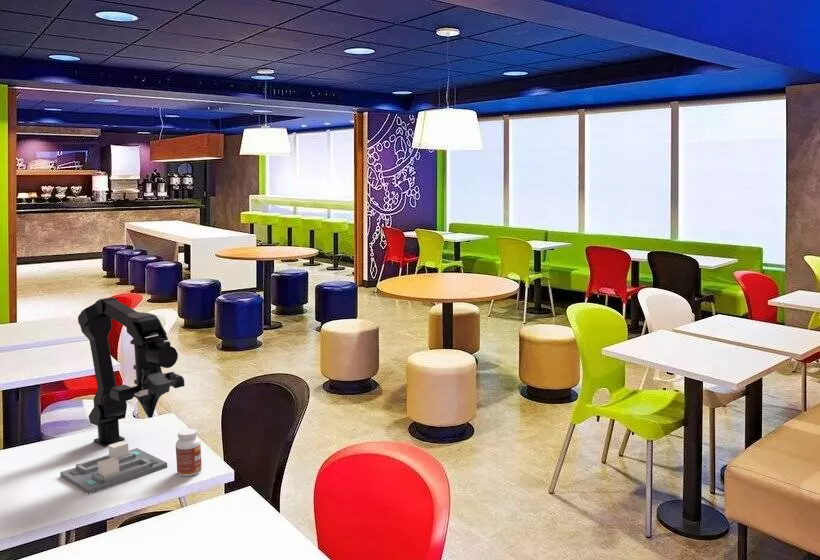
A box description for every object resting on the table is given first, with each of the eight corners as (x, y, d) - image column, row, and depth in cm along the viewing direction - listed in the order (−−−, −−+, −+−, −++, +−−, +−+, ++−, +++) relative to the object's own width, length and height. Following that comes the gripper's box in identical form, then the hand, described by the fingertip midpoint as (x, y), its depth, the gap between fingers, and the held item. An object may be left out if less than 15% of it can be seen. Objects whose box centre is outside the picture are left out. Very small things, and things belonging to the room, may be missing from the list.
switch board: (60, 476, 179) (59, 468, 179) (137, 452, 195) (136, 444, 194) (88, 494, 169) (88, 485, 168) (167, 467, 184) (166, 459, 184)
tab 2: (98, 477, 175) (97, 462, 175) (114, 472, 178) (112, 457, 178) (104, 480, 173) (103, 465, 173) (119, 475, 176) (118, 460, 176)
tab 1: (109, 459, 187) (108, 445, 186) (123, 454, 190) (122, 440, 189) (114, 462, 185) (113, 447, 184) (129, 457, 188) (128, 443, 187)
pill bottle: (199, 476, 178) (197, 435, 177) (175, 478, 178) (172, 436, 176) (203, 466, 184) (201, 426, 183) (179, 468, 184) (177, 428, 182)
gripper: (127, 374, 174) (131, 434, 176) (193, 360, 188) (196, 415, 190) (107, 366, 181) (111, 423, 184) (172, 353, 195) (175, 406, 197)
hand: (150, 417), depth 188 cm, fingers closed
